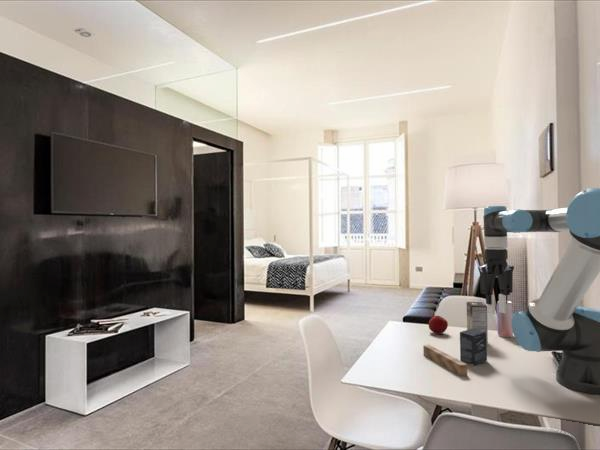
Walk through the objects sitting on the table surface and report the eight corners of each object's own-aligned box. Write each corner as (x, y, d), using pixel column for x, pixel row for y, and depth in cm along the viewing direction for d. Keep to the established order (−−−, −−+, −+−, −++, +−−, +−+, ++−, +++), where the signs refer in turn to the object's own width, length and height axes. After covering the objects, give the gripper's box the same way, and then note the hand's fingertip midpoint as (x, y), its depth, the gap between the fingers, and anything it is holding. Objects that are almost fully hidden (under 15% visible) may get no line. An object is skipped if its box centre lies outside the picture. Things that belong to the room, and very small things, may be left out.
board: (467, 375, 122) (467, 364, 122) (460, 376, 122) (460, 365, 122) (429, 354, 144) (429, 344, 144) (423, 354, 143) (423, 345, 143)
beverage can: (494, 334, 170) (493, 300, 170) (505, 333, 171) (504, 300, 172) (505, 338, 164) (504, 303, 164) (516, 336, 166) (515, 302, 166)
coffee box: (466, 338, 164) (466, 301, 164) (482, 339, 163) (481, 301, 163) (471, 344, 155) (471, 305, 155) (488, 345, 154) (488, 305, 154)
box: (473, 357, 140) (472, 327, 140) (487, 361, 135) (487, 331, 135) (459, 361, 136) (459, 331, 136) (474, 366, 131) (473, 334, 131)
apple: (439, 336, 167) (439, 318, 167) (425, 332, 174) (425, 315, 174) (451, 334, 171) (451, 316, 171) (436, 330, 178) (436, 313, 178)
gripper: (508, 247, 144) (509, 309, 144) (468, 248, 140) (469, 312, 140) (523, 248, 137) (525, 313, 136) (482, 249, 133) (483, 316, 132)
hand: (496, 312), depth 138 cm, fingers open, 4 cm apart
